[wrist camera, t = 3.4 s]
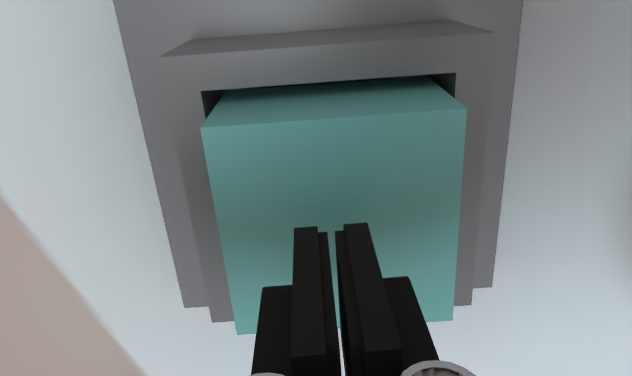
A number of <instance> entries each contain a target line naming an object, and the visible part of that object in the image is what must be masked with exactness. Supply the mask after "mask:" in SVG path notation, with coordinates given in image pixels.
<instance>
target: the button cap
mask: <svg viewBox="0 0 632 376" xmlns="http://www.w3.org/2000/svg"><path fill="white" fill-rule="evenodd" d="M466 116H467V108H466V107H464V106H463V105H462V104H461V103H459V102H458V101H457V100H456V99H455V98H453V97H452V96H451V95H450V94H448V93H447V92H446V91H445V90H444V89H442V88H441V87H440V86H439V85H437V84H436V83H435V82H434V81H432V80H431V79H430V78H429V77H428V76H422V77H408V78H394V79H381V80H367V81H353V82H339V83H326V84H312V85H298V86H284V87H271V88H257V89H243V90H229V91H226V92H225V93H224V95H223V96H222V97H221V99H220V100H219V102H218V103H217V105H216V106H215V107H214V109H213V110H212V112H211V113H210V114H209V116H208V117H207V119H206V120H205V122H204V123H203V124H202V126H201V127H200V130H201V136H202V141H203V147H204V153H205V158H206V164H207V169H208V175H209V180H210V186H211V192H212V197H213V203H214V208H215V214H216V220H217V225H218V231H219V236H220V242H221V247H222V253H223V259H224V264H225V270H226V275H227V281H228V287H229V292H230V298H231V303H232V309H233V314H234V320H235V326H236V331H237V335H241V334H256V332H257V324H258V316H259V309H260V301H261V293H262V288H263V287H267V286H281V285H292V279H293V245H294V228H298V227H312V226H318V232H327V233H328V243H329V253H330V262H331V272H332V281H333V291H334V301H335V310H336V320H337V328H340V313H339V296H338V280H337V263H336V246H335V231H342V230H343V225H344V224H352V223H365V222H367V223H368V226H369V230H370V234H371V237H372V241H373V245H374V248H375V252H376V256H377V259H378V263H379V266H380V270H381V274H382V277H383V278H389V277H402V276H408V277H409V279H410V281H411V283H412V286H413V289H414V292H415V294H416V297H417V300H418V303H419V305H420V308H421V311H422V314H423V316H424V319H425V322H435V321H450V320H453V306H454V291H455V277H456V262H457V247H458V233H459V218H460V204H461V189H462V174H463V160H464V145H465V131H466Z"/></svg>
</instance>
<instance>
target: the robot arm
mask: <svg viewBox="0 0 632 376" xmlns="http://www.w3.org/2000/svg"><path fill="white" fill-rule="evenodd" d="M335 246H336V263H337V280H338V296H339V313H340V329H341V340H342V349H343V358H344V367H345V376H476V375H474V374H473V373H471V372H470V371H468V370H467V369H465V368H464V367H461V366H459V365H456V364H454V363H451V362H445V361H440V360H439V358H438V355H437V352H436V349H435V347H434V344H433V341H432V338H431V336H430V333H429V330H428V327H427V325H426V322H425V319H424V316H423V314H422V311H421V308H420V305H419V303H418V300H417V297H416V294H415V292H414V289H413V286H412V283H411V281H410V279H409V277H408V276H402V277H389V278H383V277H382V274H381V270H380V266H379V263H378V259H377V256H376V252H375V248H374V245H373V241H372V237H371V234H370V230H369V226H368V223H367V222H365V223H352V224H344V225H343V230H342V231H335ZM251 376H341V362H340V350H339V339H338V329H337V320H336V310H335V301H334V291H333V281H332V272H331V262H330V253H329V243H328V233H327V232H318V226H312V227H298V228H294V245H293V279H292V285H281V286H267V287H263V288H262V293H261V301H260V309H259V316H258V324H257V332H256V340H255V348H254V356H253V364H252V372H251Z"/></svg>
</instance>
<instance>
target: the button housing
mask: <svg viewBox="0 0 632 376" xmlns="http://www.w3.org/2000/svg"><path fill="white" fill-rule="evenodd" d="M113 2H114V7H115V11H116V15H117V20H118V24H119V28H120V32H121V37H122V41H123V45H124V50H125V54H126V58H127V63H128V67H129V71H130V75H131V80H132V84H133V88H134V93H135V97H136V101H137V106H138V110H139V114H140V118H141V123H142V127H143V131H144V136H145V140H146V144H147V149H148V153H149V157H150V161H151V166H152V170H153V174H154V179H155V183H156V187H157V192H158V196H159V200H160V204H161V209H162V213H163V217H164V222H165V226H166V230H167V235H168V239H169V243H170V247H171V252H172V256H173V260H174V265H175V269H176V273H177V278H178V282H179V286H180V290H181V295H182V299H183V303H184V308H190V307H205V306H209V309H210V314H211V319H212V322H226V321H235V320H234V314H233V309H232V303H231V298H230V292H229V287H228V281H227V275H226V270H225V264H224V259H223V253H222V247H221V242H220V236H219V231H218V225H217V220H216V214H215V208H214V203H213V197H212V192H211V186H210V180H209V175H208V169H207V164H206V158H205V153H204V147H203V141H202V136H201V130H200V127H201V126H202V124H203V123H204V122H205V120H206V119H207V117H208V116H209V114H210V113H211V112H212V110H213V109H214V107H215V106H216V105H217V103H218V102H219V100H220V99H221V97H222V96H223V95H224V93H225V92H226V91H229V90H243V89H257V88H271V87H284V86H298V85H312V84H326V83H339V82H353V81H367V80H381V79H394V78H408V77H422V76H428V77H429V78H430V79H431V80H432V81H434V82H435V83H436V84H437V85H439V86H440V87H441V88H442V89H444V90H445V91H446V92H447V93H448V94H450V95H451V96H452V97H453V98H455V99H456V100H457V101H458V102H459V103H461V104H462V105H463V106H464V107H466V108H467V116H466V131H465V145H464V160H463V174H462V189H461V204H460V218H459V233H458V247H457V262H456V277H455V291H454V306H464V305H471V302H472V291H473V288H486V287H492V281H493V272H494V263H495V254H496V245H497V236H498V226H499V217H500V208H501V199H502V190H503V181H504V171H505V162H506V153H507V144H508V135H509V126H510V116H511V107H512V98H513V89H514V80H515V71H516V61H517V52H518V43H519V34H520V25H521V16H522V6H523V0H113Z"/></svg>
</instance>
